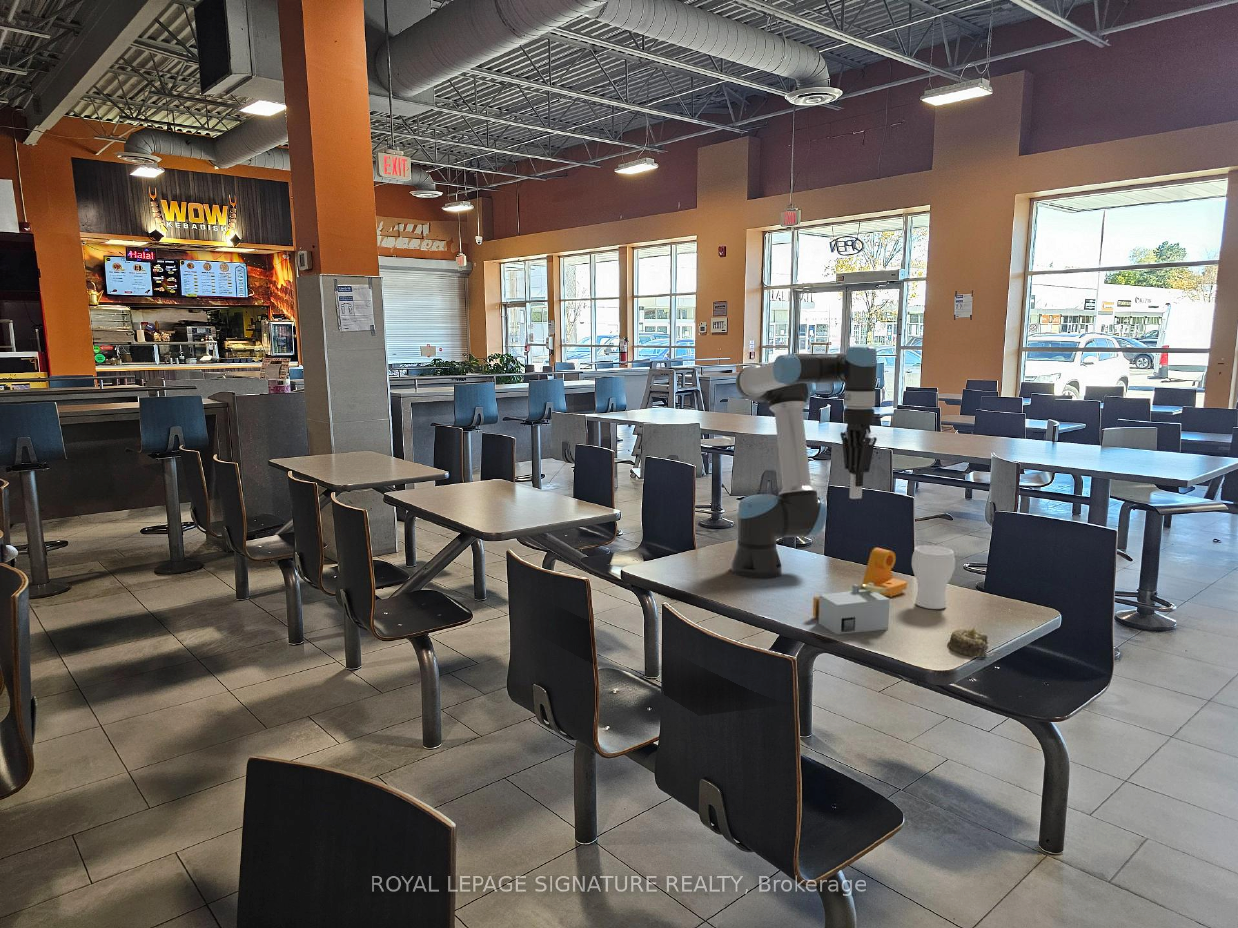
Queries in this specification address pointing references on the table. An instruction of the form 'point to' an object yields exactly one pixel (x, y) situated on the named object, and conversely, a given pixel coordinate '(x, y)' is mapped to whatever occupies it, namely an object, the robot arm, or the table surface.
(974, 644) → the olive green round lump
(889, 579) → the bracket
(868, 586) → the latch bar
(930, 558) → the cup
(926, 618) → the table surface
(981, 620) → the table surface
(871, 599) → the block
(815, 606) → the pin
